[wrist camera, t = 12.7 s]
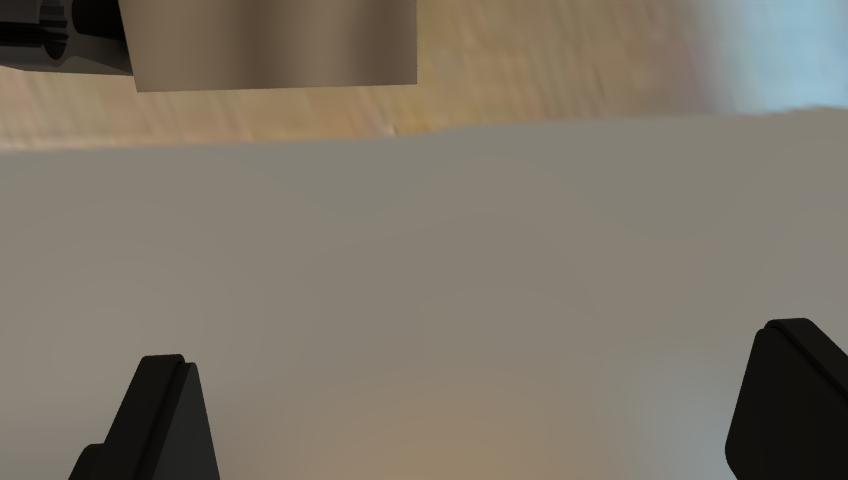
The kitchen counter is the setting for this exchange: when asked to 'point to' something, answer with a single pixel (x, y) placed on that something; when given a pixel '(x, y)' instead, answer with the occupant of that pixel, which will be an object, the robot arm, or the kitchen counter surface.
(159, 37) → the trolley
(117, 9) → the phone stand
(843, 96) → the kitchen counter surface
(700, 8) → the kitchen counter surface
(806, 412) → the robot arm
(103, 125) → the kitchen counter surface
